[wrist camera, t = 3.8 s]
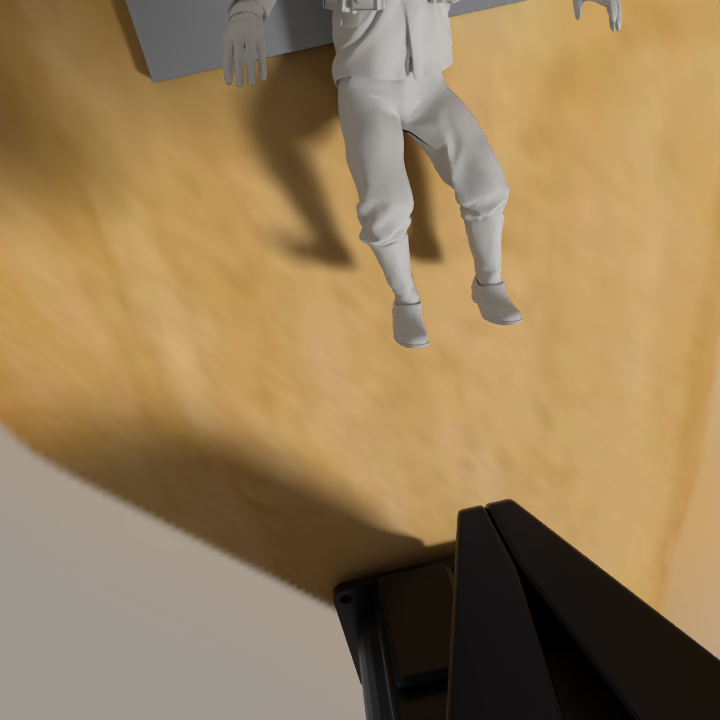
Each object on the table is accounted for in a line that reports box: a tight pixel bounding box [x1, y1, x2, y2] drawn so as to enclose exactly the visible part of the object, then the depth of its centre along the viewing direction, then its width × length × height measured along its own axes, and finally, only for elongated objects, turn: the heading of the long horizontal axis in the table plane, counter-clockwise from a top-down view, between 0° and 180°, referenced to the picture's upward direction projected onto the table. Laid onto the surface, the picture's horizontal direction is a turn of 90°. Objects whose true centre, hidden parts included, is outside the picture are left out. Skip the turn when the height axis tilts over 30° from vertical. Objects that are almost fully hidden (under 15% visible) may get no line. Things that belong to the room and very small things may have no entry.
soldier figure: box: [222, 0, 622, 348], centre depth 11 cm, size 8×5×12 cm
